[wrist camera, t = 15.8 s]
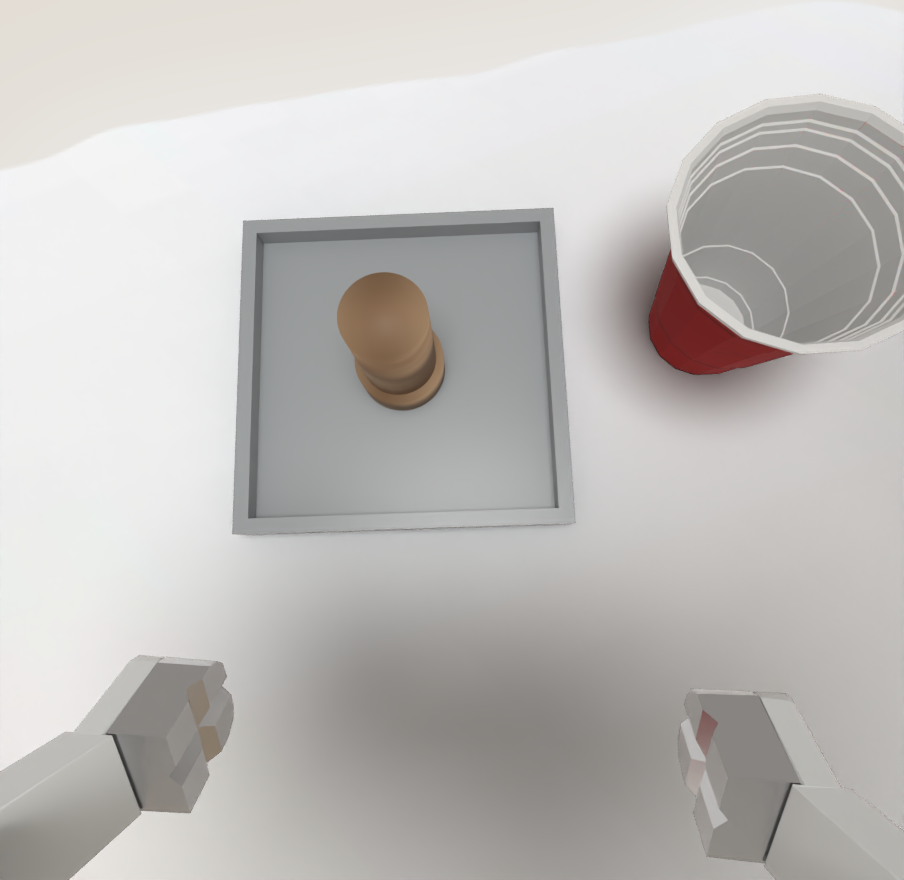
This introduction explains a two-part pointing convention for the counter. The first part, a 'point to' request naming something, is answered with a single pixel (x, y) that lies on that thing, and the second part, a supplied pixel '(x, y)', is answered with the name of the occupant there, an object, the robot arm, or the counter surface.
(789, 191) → the plastic cup
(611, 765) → the counter surface
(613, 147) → the counter surface
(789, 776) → the robot arm
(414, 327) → the walnut pestle
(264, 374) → the grey tray
